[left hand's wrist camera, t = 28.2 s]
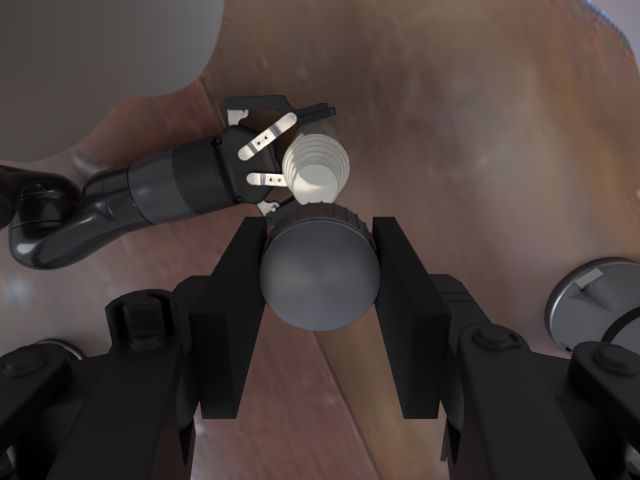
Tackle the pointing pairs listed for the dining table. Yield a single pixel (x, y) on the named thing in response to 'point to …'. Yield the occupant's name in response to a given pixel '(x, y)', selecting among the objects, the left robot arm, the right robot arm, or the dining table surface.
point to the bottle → (316, 163)
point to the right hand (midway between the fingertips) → (340, 137)
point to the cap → (319, 267)
